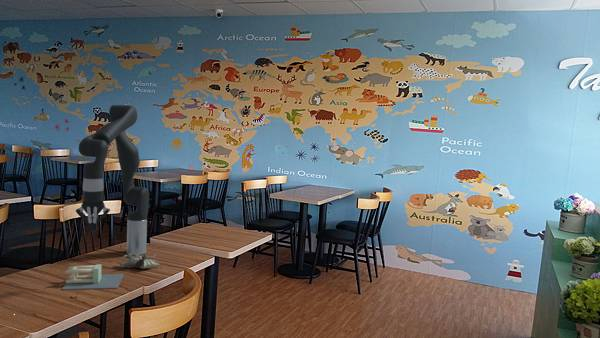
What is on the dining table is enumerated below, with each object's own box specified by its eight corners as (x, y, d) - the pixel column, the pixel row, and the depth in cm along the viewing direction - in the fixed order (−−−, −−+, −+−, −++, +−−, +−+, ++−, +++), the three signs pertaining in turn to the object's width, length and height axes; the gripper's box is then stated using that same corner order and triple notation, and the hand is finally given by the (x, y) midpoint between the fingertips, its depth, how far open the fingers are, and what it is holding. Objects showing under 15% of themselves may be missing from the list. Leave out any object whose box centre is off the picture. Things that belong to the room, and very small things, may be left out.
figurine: (140, 248, 214) (171, 253, 210) (139, 260, 215) (170, 266, 210) (111, 256, 195) (144, 262, 191) (110, 270, 196) (143, 276, 191)
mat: (73, 275, 187) (73, 274, 187) (123, 274, 191) (123, 273, 191) (61, 289, 171) (61, 288, 171) (117, 288, 176) (117, 287, 176)
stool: (101, 278, 185) (69, 279, 182) (101, 264, 184) (69, 265, 181) (98, 283, 179) (65, 284, 176) (98, 268, 178) (65, 269, 176)
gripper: (112, 188, 183) (112, 229, 184) (77, 187, 180) (77, 229, 181) (109, 191, 176) (108, 234, 177) (72, 190, 173) (72, 234, 174)
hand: (92, 231), depth 179 cm, fingers closed
